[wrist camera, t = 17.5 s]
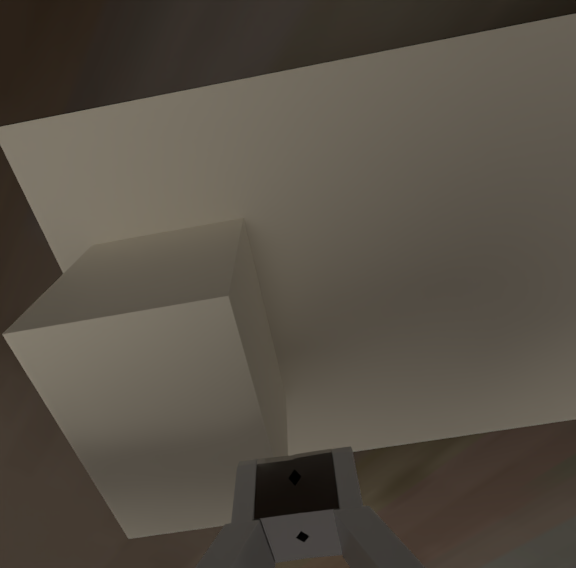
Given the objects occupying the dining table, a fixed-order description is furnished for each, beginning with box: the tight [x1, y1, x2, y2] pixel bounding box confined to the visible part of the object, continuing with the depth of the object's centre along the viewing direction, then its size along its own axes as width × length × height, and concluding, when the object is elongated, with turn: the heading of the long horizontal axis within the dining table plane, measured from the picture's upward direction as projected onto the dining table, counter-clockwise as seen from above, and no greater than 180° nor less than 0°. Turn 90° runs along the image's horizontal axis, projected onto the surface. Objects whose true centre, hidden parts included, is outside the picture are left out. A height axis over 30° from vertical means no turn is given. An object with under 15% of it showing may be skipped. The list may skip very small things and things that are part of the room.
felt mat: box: [0, 13, 576, 456], centre depth 19 cm, size 28×20×1 cm
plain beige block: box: [2, 218, 288, 539], centre depth 17 cm, size 6×10×6 cm, turn 10°
